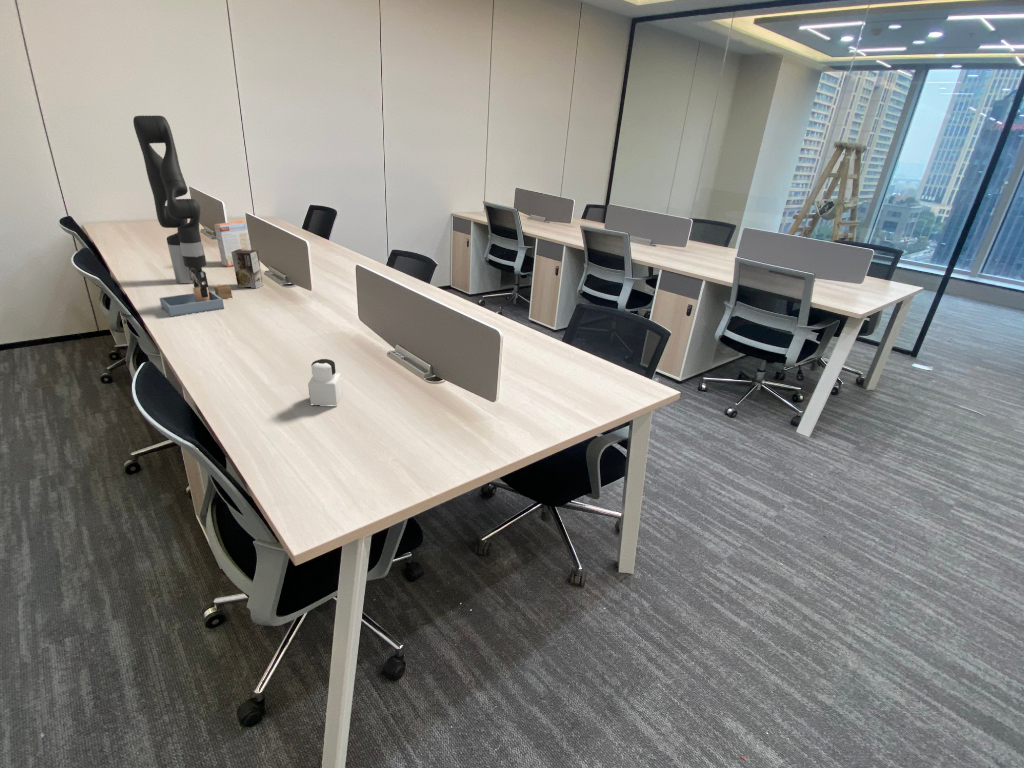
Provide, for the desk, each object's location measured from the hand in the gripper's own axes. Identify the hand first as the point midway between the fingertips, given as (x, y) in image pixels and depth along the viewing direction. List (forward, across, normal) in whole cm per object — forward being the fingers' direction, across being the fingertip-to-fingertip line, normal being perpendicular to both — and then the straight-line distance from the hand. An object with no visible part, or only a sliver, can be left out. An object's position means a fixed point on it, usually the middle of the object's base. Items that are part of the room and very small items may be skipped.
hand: (201, 294), depth 204 cm
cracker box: (+5, -63, +34) cm, 72 cm away
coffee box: (+5, -20, +25) cm, 32 cm away
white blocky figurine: (+5, +102, +2) cm, 102 cm away
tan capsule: (+4, 0, 0) cm, 4 cm away
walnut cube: (+5, -8, +10) cm, 14 cm away
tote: (+5, 0, -4) cm, 6 cm away
